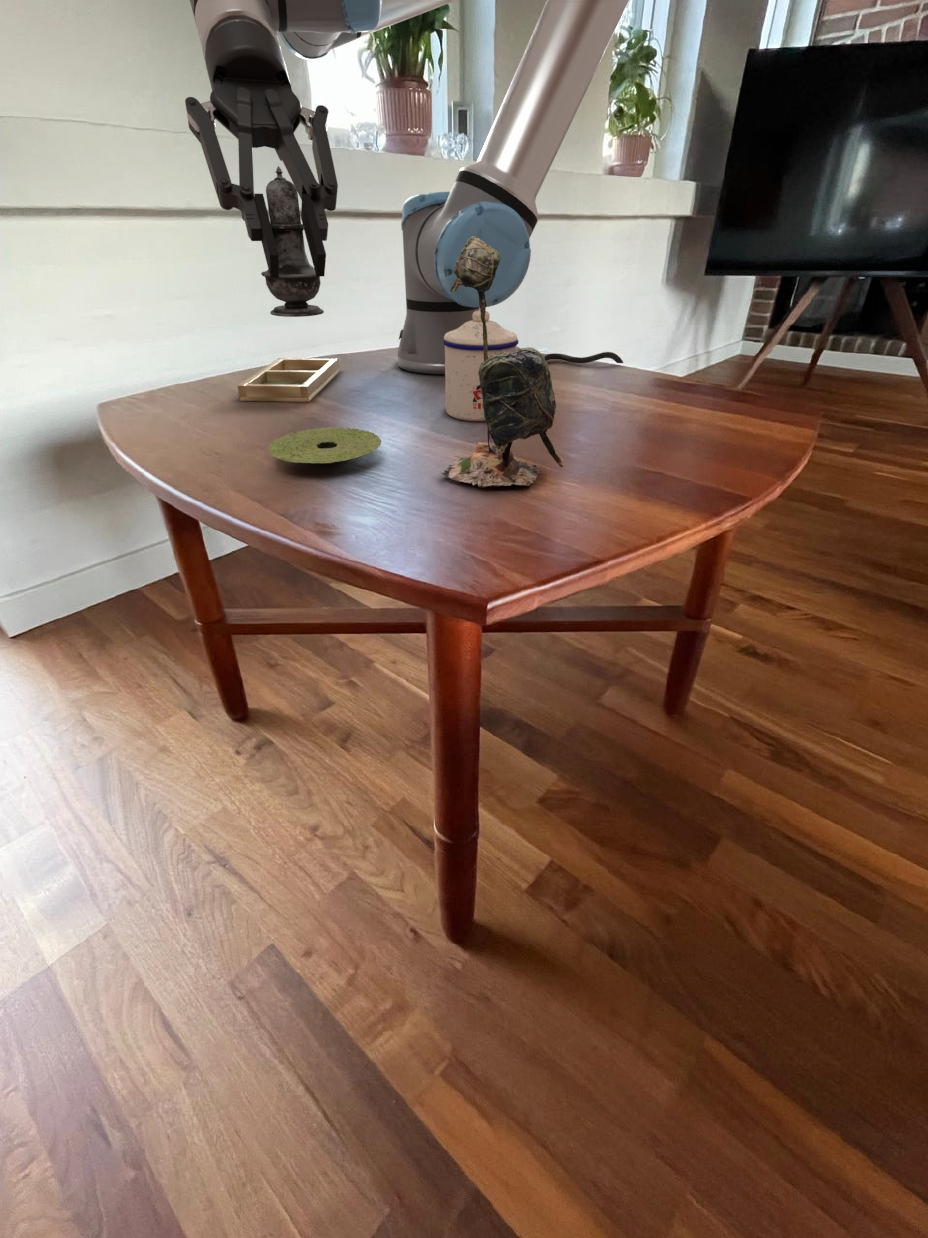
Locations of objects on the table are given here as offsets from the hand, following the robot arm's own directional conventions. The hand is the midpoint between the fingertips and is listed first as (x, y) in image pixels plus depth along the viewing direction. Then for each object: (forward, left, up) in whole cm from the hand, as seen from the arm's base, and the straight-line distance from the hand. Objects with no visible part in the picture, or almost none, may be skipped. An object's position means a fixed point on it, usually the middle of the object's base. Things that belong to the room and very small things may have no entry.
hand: (298, 265), depth 57 cm
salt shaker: (+2, -4, -5) cm, 6 cm away
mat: (-1, +4, -18) cm, 18 cm away
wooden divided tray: (+12, -28, -17) cm, 35 cm away
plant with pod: (-19, +8, -18) cm, 27 cm away
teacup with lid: (-17, -16, -18) cm, 30 cm away
